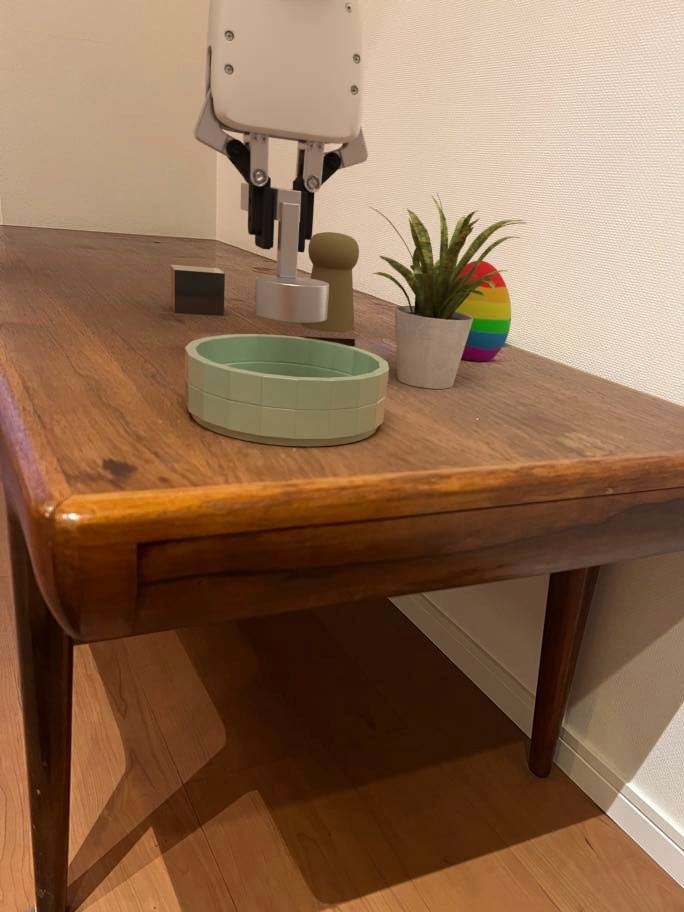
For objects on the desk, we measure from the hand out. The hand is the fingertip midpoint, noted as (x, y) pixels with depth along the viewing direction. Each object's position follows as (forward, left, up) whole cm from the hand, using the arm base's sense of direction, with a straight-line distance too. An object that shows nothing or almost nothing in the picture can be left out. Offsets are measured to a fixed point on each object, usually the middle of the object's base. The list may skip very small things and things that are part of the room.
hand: (279, 246), depth 56 cm
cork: (+11, +23, -11) cm, 28 cm away
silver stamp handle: (0, +2, -4) cm, 5 cm away
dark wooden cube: (-2, +28, -11) cm, 30 cm away
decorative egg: (+26, +19, -11) cm, 34 cm away
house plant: (+17, +6, -11) cm, 21 cm away
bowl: (0, -5, -11) cm, 12 cm away
